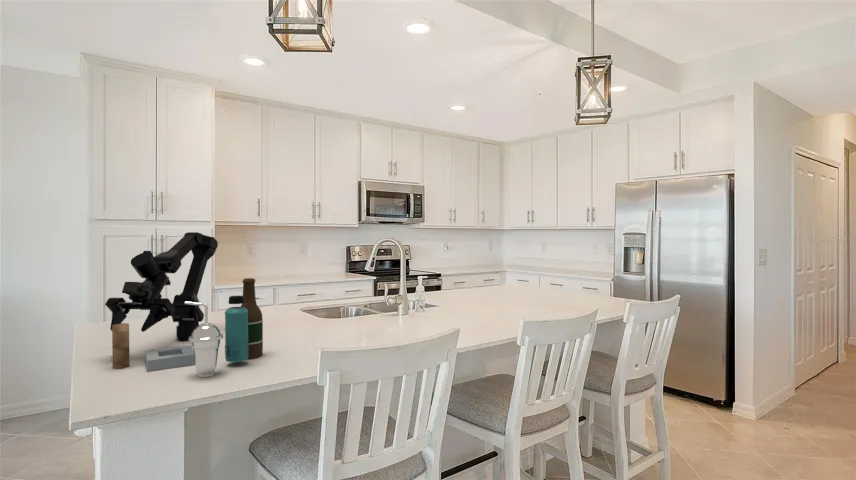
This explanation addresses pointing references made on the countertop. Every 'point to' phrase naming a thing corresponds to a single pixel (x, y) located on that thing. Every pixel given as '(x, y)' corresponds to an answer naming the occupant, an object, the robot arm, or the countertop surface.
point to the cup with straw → (205, 345)
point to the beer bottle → (253, 319)
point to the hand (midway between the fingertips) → (126, 330)
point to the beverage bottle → (236, 331)
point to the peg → (120, 345)
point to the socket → (169, 358)
